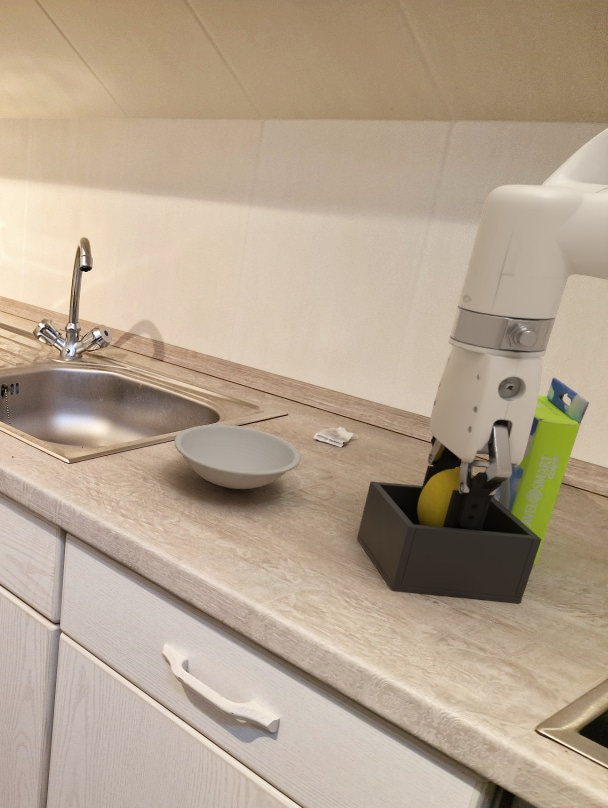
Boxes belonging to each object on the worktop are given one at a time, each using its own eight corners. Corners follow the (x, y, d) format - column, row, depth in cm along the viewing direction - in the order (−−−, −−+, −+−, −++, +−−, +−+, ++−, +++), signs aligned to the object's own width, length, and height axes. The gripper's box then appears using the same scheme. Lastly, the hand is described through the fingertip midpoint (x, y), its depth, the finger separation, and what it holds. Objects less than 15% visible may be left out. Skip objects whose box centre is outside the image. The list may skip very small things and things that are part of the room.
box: (468, 521, 96) (512, 371, 89) (509, 527, 95) (556, 376, 88) (493, 561, 86) (544, 397, 80) (539, 568, 85) (594, 403, 79)
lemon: (405, 527, 86) (425, 453, 83) (466, 537, 85) (488, 462, 82) (412, 549, 82) (433, 472, 79) (477, 560, 80) (501, 482, 77)
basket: (470, 549, 89) (487, 491, 86) (520, 603, 78) (542, 539, 76) (356, 538, 90) (370, 480, 88) (391, 590, 80) (408, 526, 77)
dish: (295, 524, 93) (304, 481, 91) (162, 503, 97) (168, 461, 95) (290, 470, 109) (297, 433, 107) (175, 454, 112) (180, 418, 111)
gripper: (598, 357, 67) (531, 562, 74) (501, 317, 83) (453, 488, 90) (497, 350, 68) (440, 553, 75) (420, 311, 84) (379, 482, 90)
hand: (448, 516), depth 82 cm, fingers closed on lemon, 5 cm apart
